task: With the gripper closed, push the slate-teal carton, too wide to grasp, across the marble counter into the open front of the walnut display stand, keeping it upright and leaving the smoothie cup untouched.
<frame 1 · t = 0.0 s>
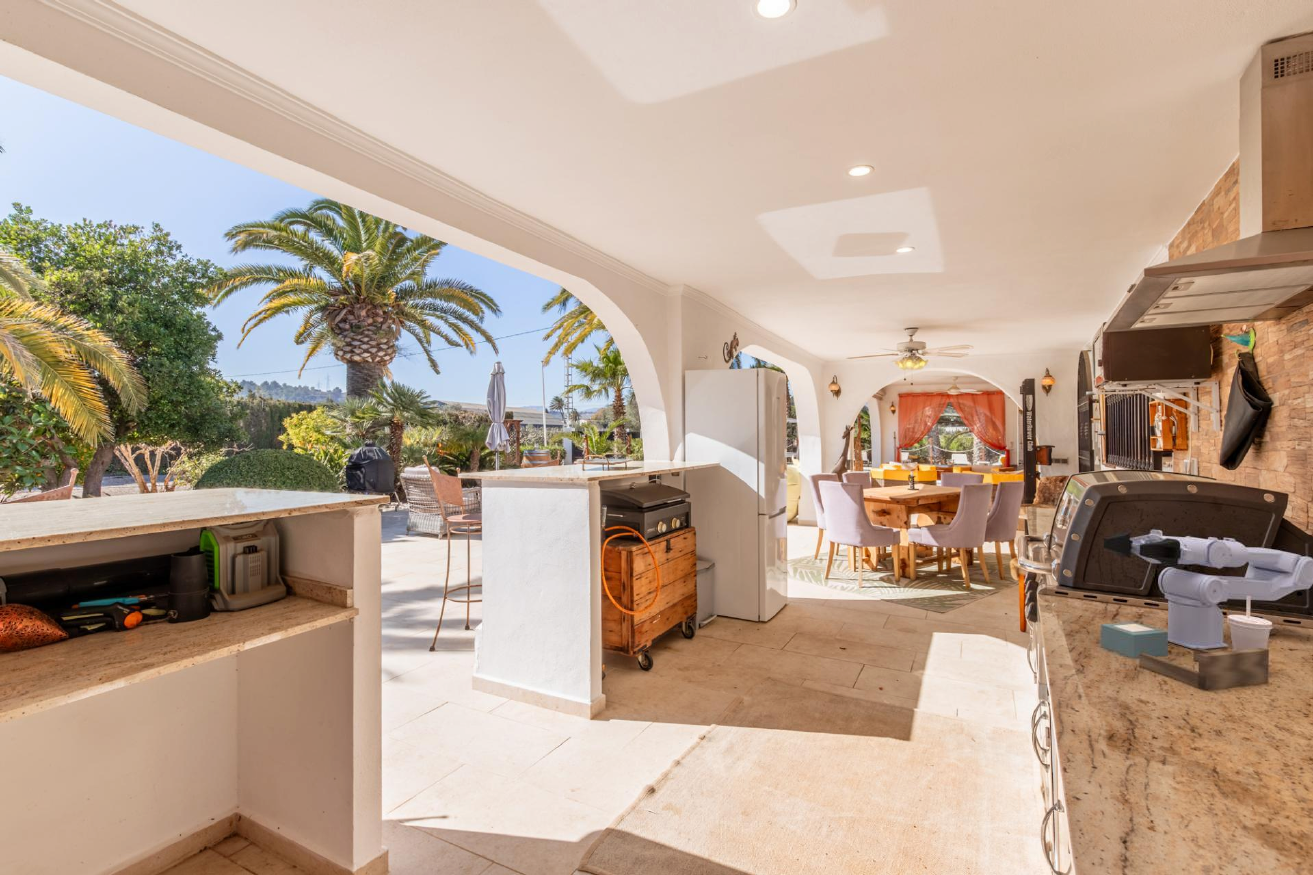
hand: (1122, 546, 129), 22 cm above the countertop, tool horizontal, fingers open, 7 cm apart
smoothie: (1248, 670, 119), on the countertop
carton: (1133, 652, 129), on the countertop
display stand: (1196, 672, 117), on the countertop
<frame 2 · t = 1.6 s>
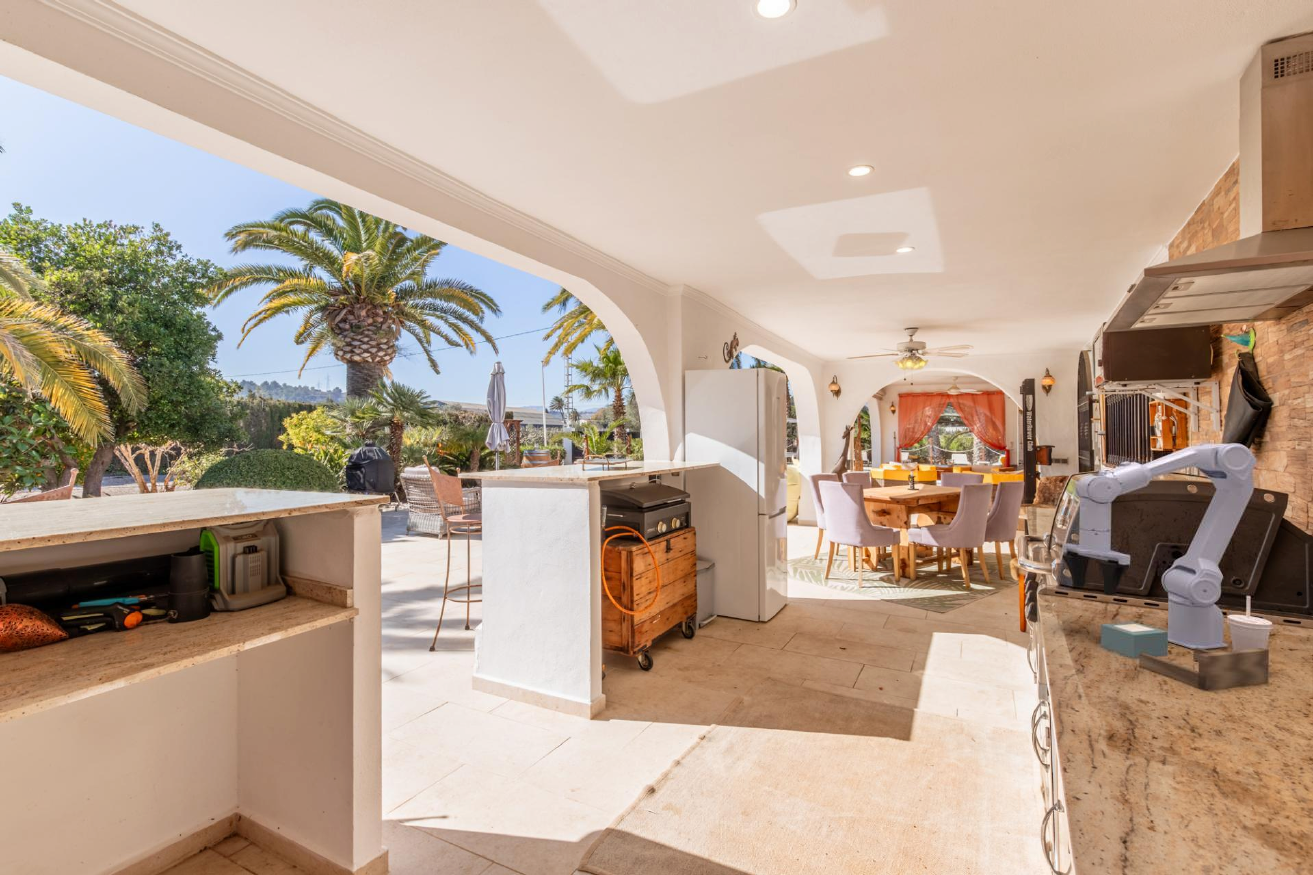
hand: (1093, 590, 138), 10 cm above the countertop, tool pointing down, fingers open, 7 cm apart
nothing on the countertop moved.
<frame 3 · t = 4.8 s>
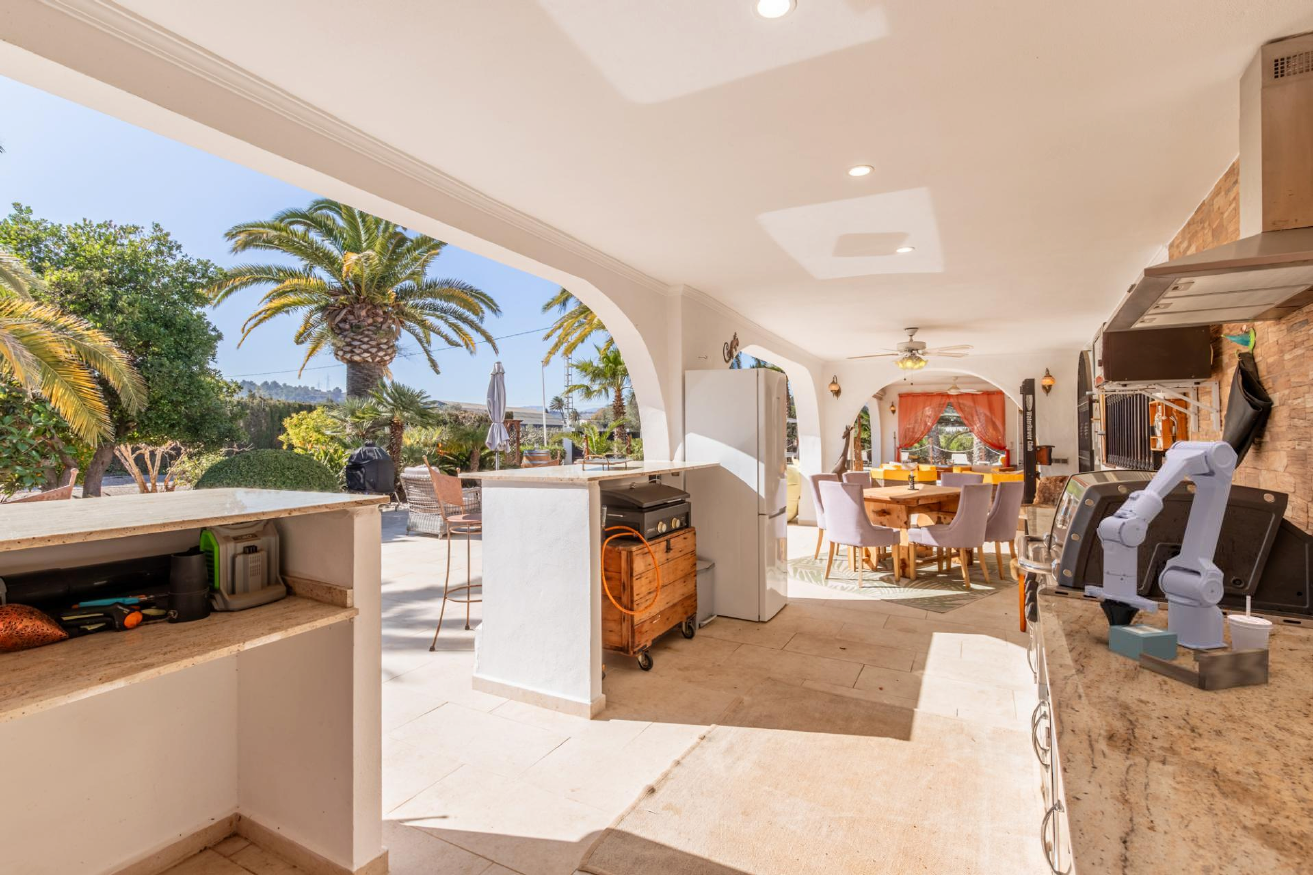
hand: (1119, 637, 132), 2 cm above the countertop, tool pointing down, fingers closed
carton: (1142, 654, 127), on the countertop, touching gripper
everything else where it was.
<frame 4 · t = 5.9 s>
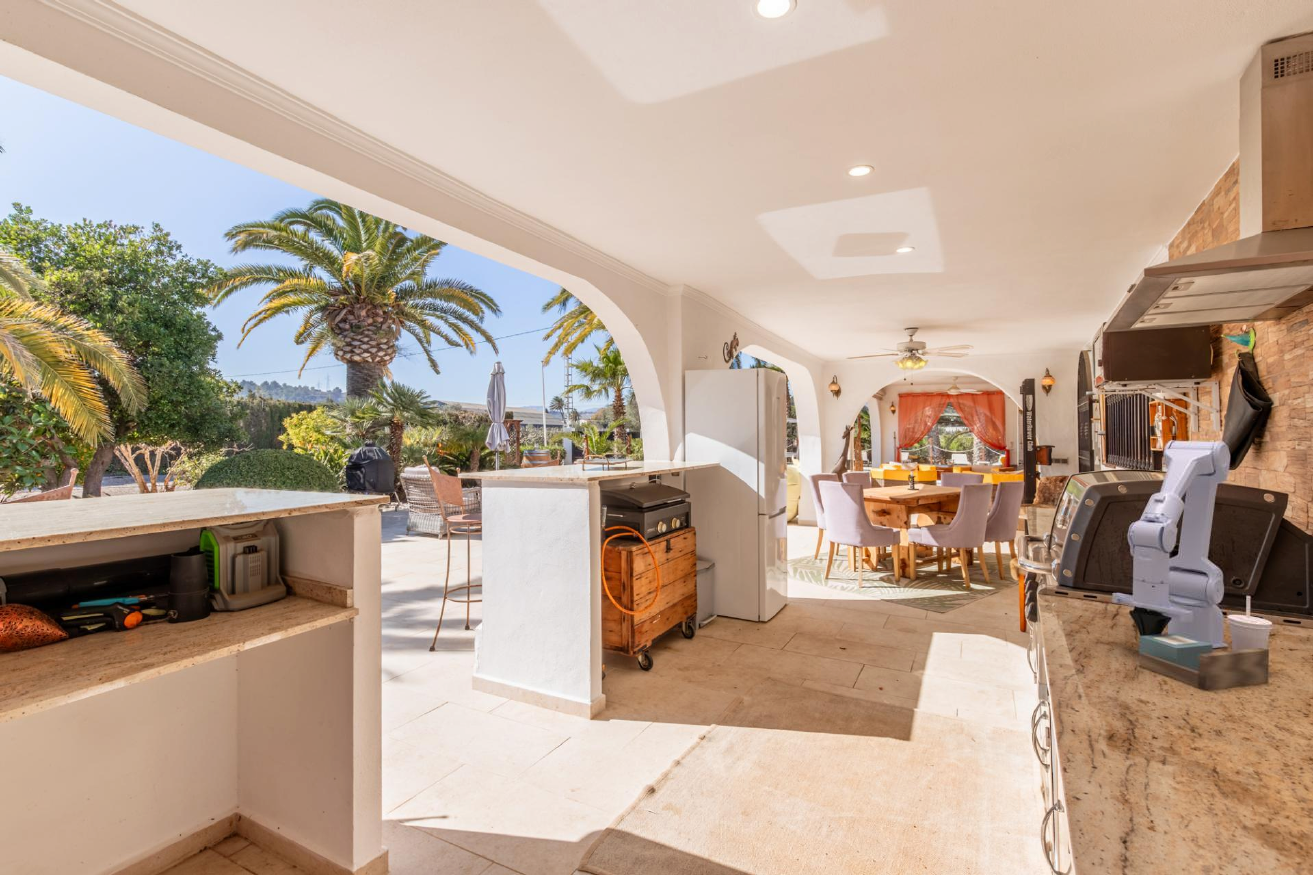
hand: (1149, 647, 126), 2 cm above the countertop, tool pointing down, fingers closed
carton: (1174, 665, 121), on the countertop
everything else where it was.
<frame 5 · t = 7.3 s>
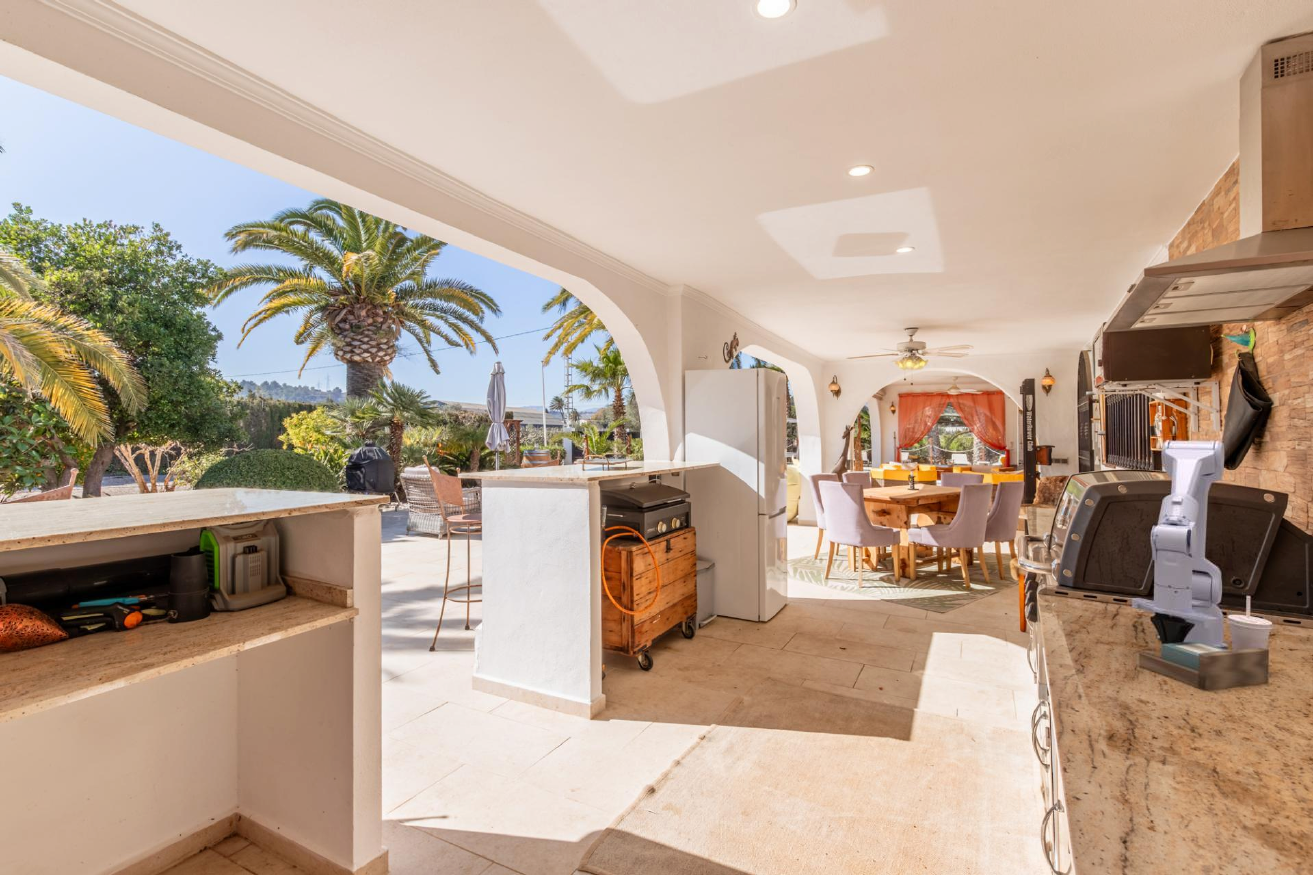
hand: (1171, 654, 122), 2 cm above the countertop, tool pointing down, fingers closed
carton: (1198, 675, 117), on the countertop
everything else where it was.
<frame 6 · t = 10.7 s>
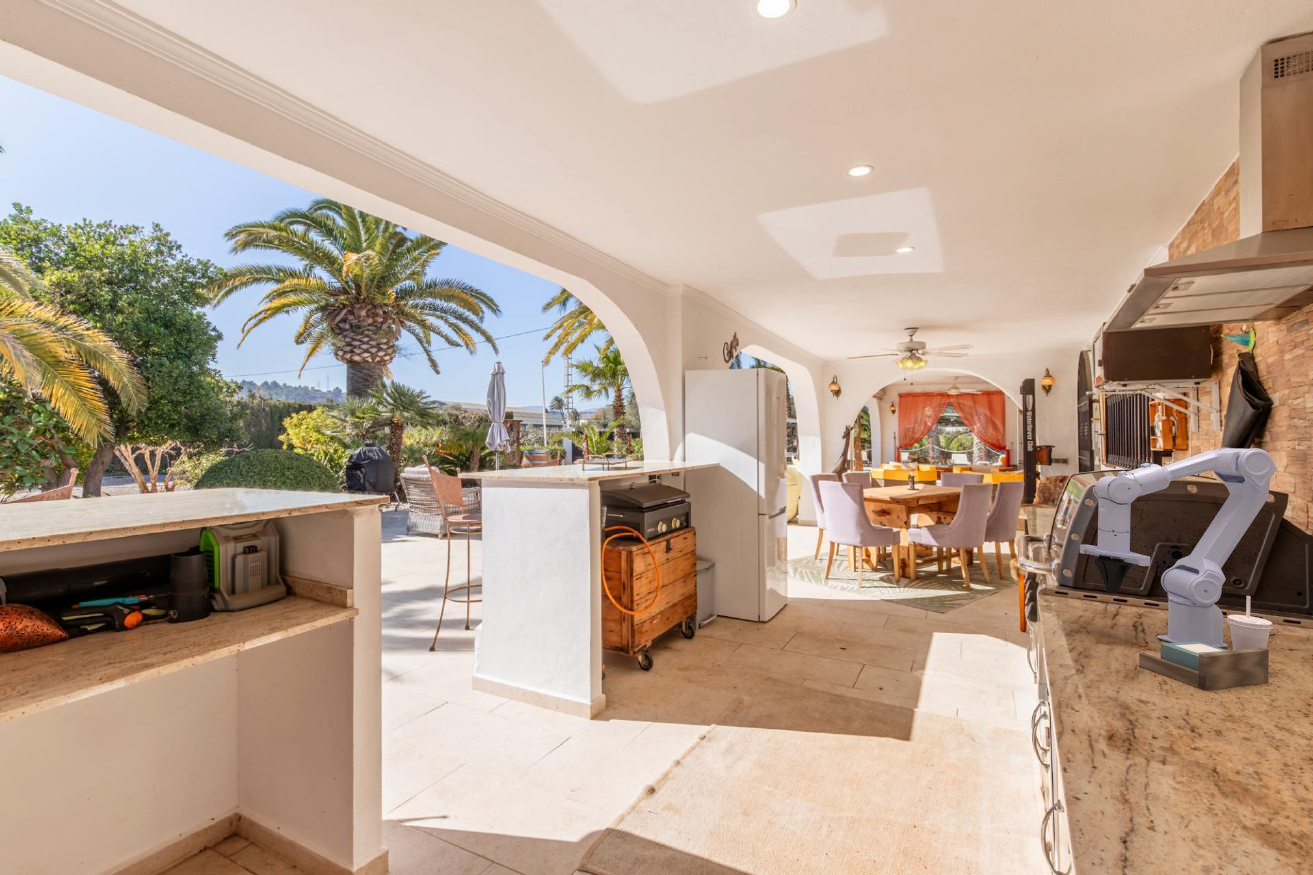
hand: (1112, 592, 136), 10 cm above the countertop, tool pointing down, fingers closed
nothing on the countertop moved.
at the end: carton 0.4 cm from the target spot, on the countertop; carton tilted 0°; smoothie moved 0.2 cm from its start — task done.
